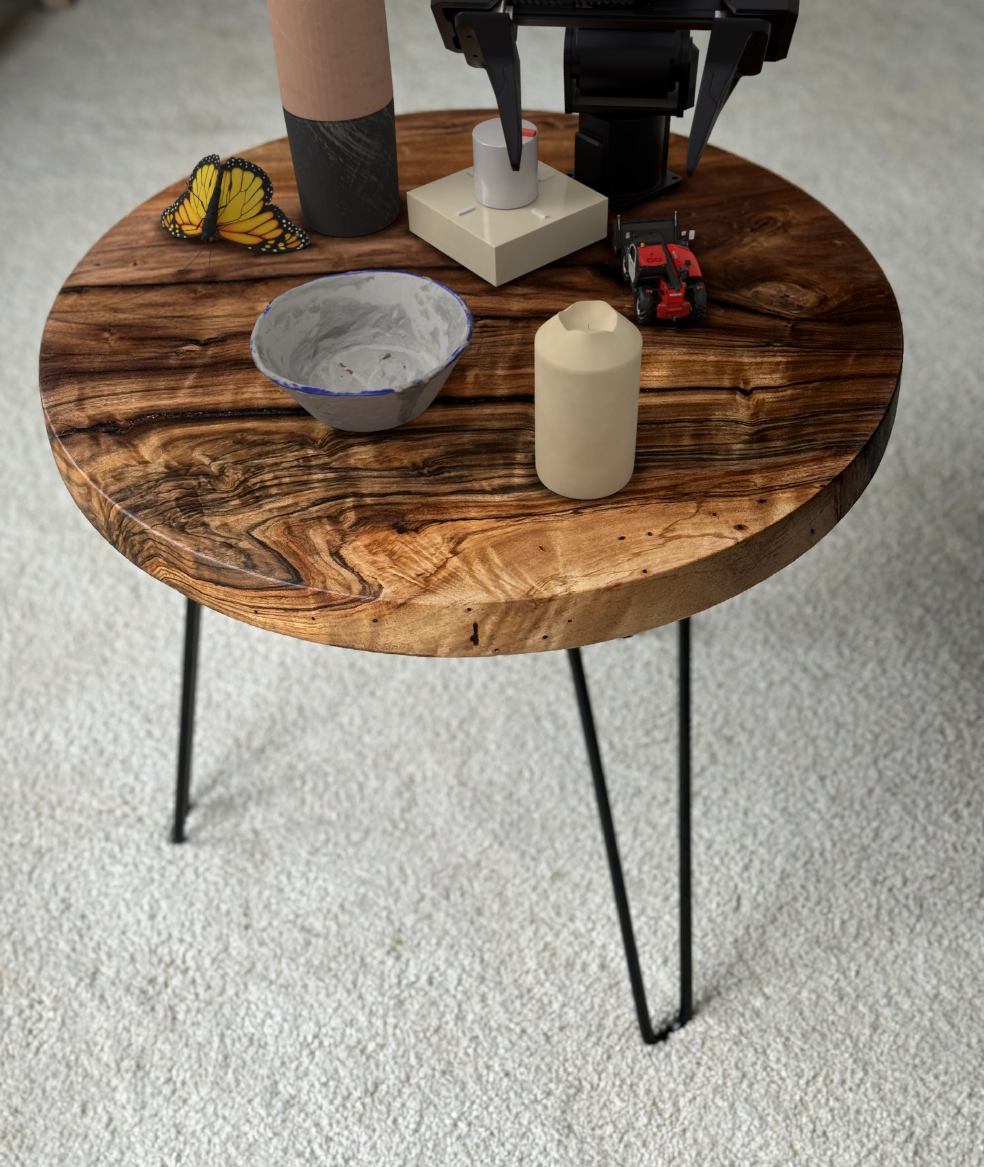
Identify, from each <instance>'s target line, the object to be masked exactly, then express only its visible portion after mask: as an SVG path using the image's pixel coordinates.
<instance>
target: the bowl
mask: <svg viewBox="0 0 984 1167" xmlns="http://www.w3.org/2000/svg"><path fill="white" fill-rule="evenodd" d="M474 330H475V321H474V315H473V312H472V309H471V308H470V307H469V305H468V304H467V302H466V301H465V300H464V298H462V296H461V295H460V294H459V293H458V292H456V290H454V289H452V288H451V287H450V286H448V285H445V284H444V283H442V282H440V281H438V280H434V279H433V278H430V277H428V276H424V275H420V274H417V273H413V271H412V272H410V271H408V270H406V269H403V270H392V269H374V270H373V269H363V270H356V271H355V270H352V271H347V272H343V273H335V274H330V275H325V276H324V275H323V276H319V277H318V278H314V279H311V280H309V281H307V282H303V283H302V284H300V285H298V286H294V287H293V288H290V289H288V290H287V291H285V292H284V293H282V294H281V295H279V296H276V297H274V298H273V299H271V301H269V302H268V304H267V305H266V307H265V309H264V310H263V311H261V313H260V314H259V317H258V318H257V320H256V322H255V324H254V326H253V328H252V332H251V335H250V341H249V346H250V354H251V358H252V360H253V363H254V364H255V367H256V368H257V370H258V371H259V372H261V374H262V375H263V376H264V377H265V378H267V379H268V380H269V381H271V382H272V383H273V384H275V385H276V386H278V387H279V388H280V389H281V390H282V391H284V392H285V393H286V394H288V395H289V396H290V398H292V399H293V400H294V401H295V402H296V403H297V404H299V405H300V406H301V407H302V408H303V409H304V410H306V411H307V412H308V413H309V414H310V415H311V416H312V417H314V418H315V419H317V420H318V421H319V422H321V423H322V424H324V425H327V426H330V427H332V428H335V429H339V430H341V431H347V432H355V433H356V432H357V433H358V432H359V433H370V432H378V431H383V430H385V431H386V430H389V429H394V428H396V427H400V426H402V425H405V424H406V423H409V422H411V421H413V420H414V419H416V418H418V417H419V416H420V415H422V414H423V413H424V412H425V411H426V410H427V409H428V408H429V407H430V405H431V404H432V403H433V401H434V400H435V399H436V397H437V396H438V394H439V393H440V391H441V390H442V388H443V387H444V385H445V383H446V381H447V380H448V378H449V377H450V375H451V373H452V371H453V369H454V368H455V366H456V364H457V363H458V361H459V360H460V358H461V357H462V355H463V353H466V352H468V351H469V349H470V342H471V340H472V337H473V334H474Z"/></svg>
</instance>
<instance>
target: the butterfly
mask: <svg viewBox="0 0 984 1167" xmlns="http://www.w3.org/2000/svg"><path fill="white" fill-rule="evenodd" d="M185 184H186V186H187V189H185V191H183V192H182V193H181V194H180V195H179V196H178V198H177V199H176V200H175V201H174V203H173V204H171V205H169V206H167V207H166V208H164V210H163V211H162V213H161V215H160V218H159V219H160V220H159V221H160V224H161V226H162V227H163V229H164V230H165V231H166V232H167V233H168V234H169V235H172V236H173V237H176V238H181V239H184V238H185V239H186V238H187V239H188V238H194V237H198V236H201V240H202V241H204V243H205V244H204V246H203V248H202V249H201V251H199V253H197V255H196V256H195V257H194V258H193V259H192V261H190V262H189V264H188V265H187V266H186V267H184V268H183V269H178V270H177V272H178V273H180V272H183V271H185V270H186V269H187V268H188V267H189V266H190V265H191V264H192V263H193V261H195V260H196V258H197V257H198V256H199V255H200V254H201V253H202V251H203V250H205V248H206V246H207V244H209V255H212V254H211V252H212V247H211V246H212V245H211V242H212V241H214V237H213V236H214V235H215V236H216V241H215V242H217V241H218V239H219V238H220V239H222V240H224V241H227V242H229V243H232V244H234V245H237V246H239V247H242V248H246V249H250V250H253V251H259V252H264V253H289V252H295V251H298V250H302V249H304V248H306V247H307V246H309V244H310V243H311V242H310V241H311V240H310V237H309V235H308V234H307V232H306V231H305V230H304V229H302V228H301V227H299V226H297V225H295V224H294V223H293V222H292V221H291V219H290V218H288V217H287V215H286V214H285V211H284V210H282V209H281V208H280V206H278V205H277V204H275V203H271V202H272V201H273V196H274V184H273V182H272V179H271V178H270V177H269V176H268V174H267V172H266V171H265V170H264V169H263V168H262V167H261V166H259V164H256V163H254V162H253V161H250V160H247V159H245V158H244V157H243V158H242V157H235V156H230V157H228V158H227V160H226V161H225V162H224V163H221V156H220V155H219V154H216V153H212V154H208V155H206V156H204V157H202V158H201V159H200V160H199V161H198V162H197V164H196V165H195V166H194V167H193V169H192V171H191V173H190V176H189V179H188V182H185ZM208 262H209V263H208V267H211V266H210V265H211V257H209V260H208ZM209 275H210V271H208V272H207V275H205V278H208V277H209Z"/></svg>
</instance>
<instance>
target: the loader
mask: <svg viewBox="0 0 984 1167" xmlns="http://www.w3.org/2000/svg"><path fill="white" fill-rule="evenodd" d="M612 230H613V231H612V232H613V237H612V238H610V243H611V245H612V249H613V253H614V255H615V256H617V255H620V268H621V269H620V270H621V276H622V279H623V281H624V282H628V283H629V286H630V290H631V291H632V295H633V298H634V314H635V319H636V322H637V324H638V325H647V324H650V323H651V322H652V320H653V312H654V309H656V311H657V312H656V318H660V319H671V321H673V322H676V321H677V319H679V318H683V317H686V316H688V317H689V319H690V320H692V321H698V320H703V319H704V317H705V316H706V312H707V291H706V286H705V284H704V282H702V281H700V280H701V279H702V277H703V274H702V272H701V268H700V265H699V263H698V260H697V258H696V256H695V255H694V253H693V251H690V247H689V243H690V242H691V240H694V239H695V235H696V230H695V229H693V225H692V224H691V223H689V224H688V230H681V232H680V220H679V217H678V210H677V211H675V210H674V211H673V215H671V216H669V215H668V217H667V218H665V217H664V216H657V217H655V218H653V217H646V218H645V217H644V218H642V219H641V218H631V219H621V215H620V214H618V215H616V220H614V222H613V229H612ZM680 236H681V237H683V236H685V237H683V238H681V239H680ZM684 240H687V241H684ZM685 295H686V296H685ZM654 301H656V302H654Z"/></svg>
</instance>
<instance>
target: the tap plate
mask: <svg viewBox="0 0 984 1167" xmlns="http://www.w3.org/2000/svg"><path fill="white" fill-rule="evenodd" d="M406 203H407V204H406V205H407V214H408V226H409V227H408V228H409V232H411V233H413V234H414V235H416V236H417V237H419V238H420V239H422V240H423V241H425V242H427V243H428V244H429V245H431V246H433V247H434V248H436V249H437V250H438V251H440V252H442V253H443V254H445V255H446V256H447V257H450V258H451V259H453V260H454V261H456V262H457V263H458V264H460V265H462V266H463V267H465V268H466V269H467V270H469V271H470V272H472V273H474V274H475V275H477V276H478V277H480V278H482V279H483V280H485V281H486V282H488V283H489V284H491V285H492V286H494V287H496V288H497V287H499V286H502V285H504V284H506V283H508V282H510V281H513V280H515V279H517V278H519V277H522V276H524V275H526V274H528V273H530V272H533V271H534V270H537V269H539V268H541V267H543V266H545V265H548V264H550V263H553V262H555V261H557V260H559V259H561V258H563V257H566V256H568V255H571V254H572V253H574V252H577V251H580V250H581V249H584V248H585V247H587V246H589V245H592V244H594V243H596V242H599V241H601V240H603V239H605V238H607V237H608V214H609V206H608V198H607V197H606V196H604V195H602V194H600V193H598V192H596V191H595V190H593V189H591V188H589V187H587V186H585V185H583V184H582V183H580V182H578V181H576V180H574V179H572V178H571V177H569V176H567V175H565V173H563V172H562V171H560V170H557V169H555V168H554V167H552V166H550V165H548V164H546V163H544V162H542V161H541V160H539V159H538V196H537V198H536V199H535V200H534V201H533V202H532V203H530V204H528V205H526V206H523V207H520V208H514V209H496V208H491V207H487V206H485V205H483V204H481V203H480V202H479V201H478V200H477V199H476V197H475V189H474V166H473V165H471V166H469V167H467V168H466V167H465V168H463V169H461V170H459V171H457V172H453V173H451V174H448V175H446V176H444V177H441V178H439V179H436V180H434V181H431V182H428V183H426V184H424V185H420V186H419V187H417V188H413V189H411V190H409V191H407V192H406Z"/></svg>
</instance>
